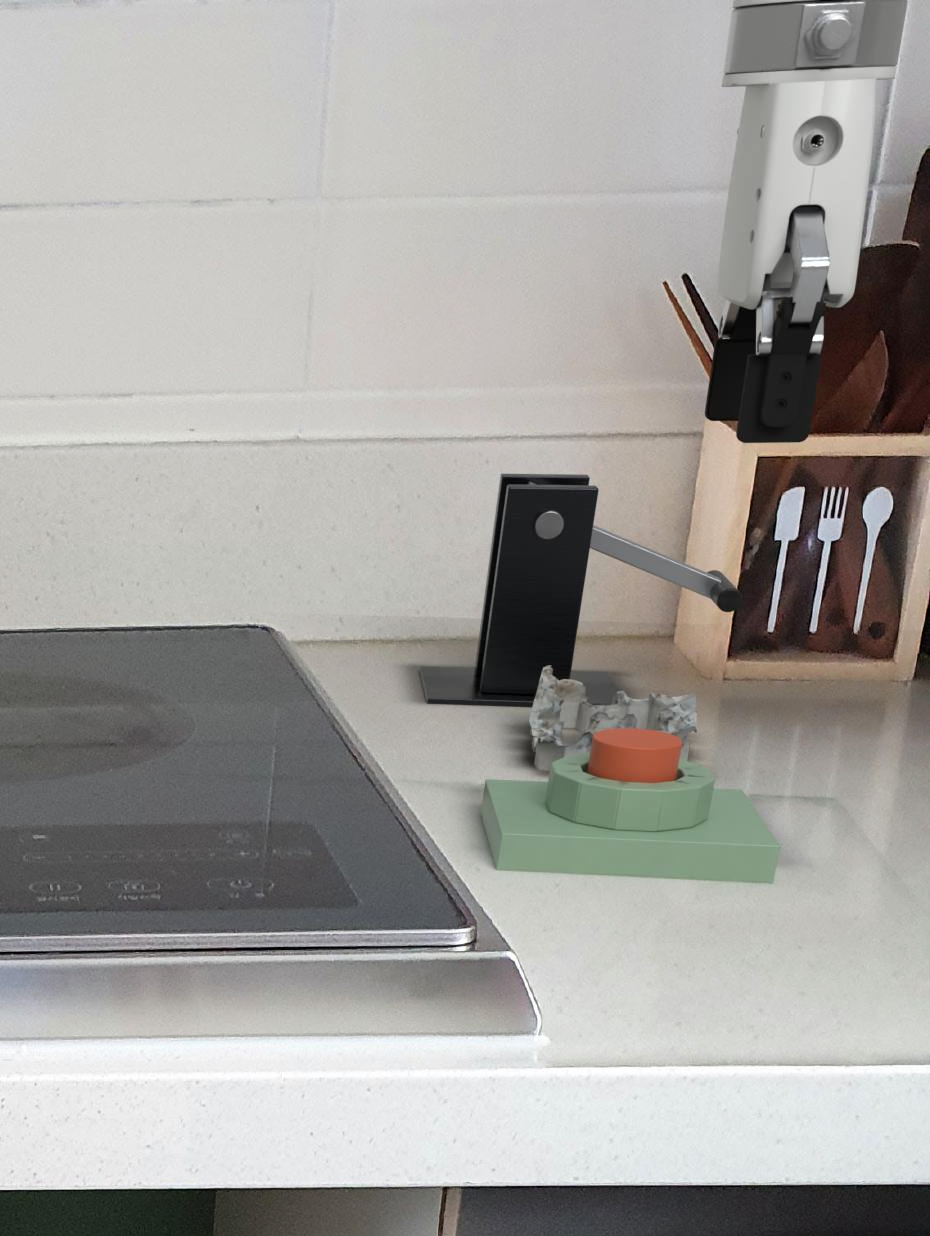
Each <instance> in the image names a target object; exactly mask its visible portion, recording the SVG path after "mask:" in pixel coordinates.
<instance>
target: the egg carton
mask: <svg viewBox="0 0 930 1236" xmlns="http://www.w3.org/2000/svg"><path fill="white" fill-rule="evenodd" d="M552 673H553V669H552V668H551V665H549V666H548V665H547V666H545V667H543V670H542V673H541V676H540V680H539V685H538V689H537V693H536V696H535V699H534V703H533V707H531V712H530V714H529V717H528V718H529V719H528V721H529V726H530V730H529V736H530V737H532V741H531V749H532V752H533V753H535V756H534V761H533V762H534V763H533V765H534V767H535V768H536V769H537V770H538V771H539V770H540V771H546V772H550V767H551V763H552V762H554V761H556V760H558V759H561V758H563V757H565V756H567V755H571V754H581V753H590V751H591V744H592V738H593V735H594V734H595V733H596V732H599V731H602V730H607V729H618V728H634V729H647V730H654V731H660V732H665V733H669V734H672V735H674V736H677V737H679V738H680V739H681V740H682V747H681V753H680V759H683V760H686V761H688V758H689V754H690V753H689V752H690V745H691V744H690V742H689V739H688V738H687V735H688V734H690V733H692V732H694V733H697V731H698V729H697V727H698V723H697V721H698V714H697V696H696V694H695V693H686V694H682V695H676V696H672V695H671V696H670V695H667V694H662V693H658V694H656V693H655V692H654V691H653V692H650V695H649V696H648V697H647V698H641V699H639V698H632V697H629V696H628V694H627V692H626V691H625V690H619V691H618V692H617V693H616V694H615V695H614V696H613V701H612V704H611V705H607V706H604V705H597V706H593V705H591V704H589V703H588V702H586V700H587V696H586V690H585V686H584V684H583V683H582V682H579V681H576V680H571V679H562V680H560V681H559V679H557V678H555V677H554V676H553V675H552ZM563 728H565V729H575V730H576V731H577V730H578V731H579V732H582V734H581V736H580V738H579V739H578V741H577V742H575V743H573V744H569V745H567V744H563V741H562V734H563Z"/></svg>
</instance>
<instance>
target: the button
mask: <svg viewBox="0 0 930 1236" xmlns="http://www.w3.org/2000/svg"><path fill="white" fill-rule="evenodd" d="M681 747H682V740H681V739H680V738H679V737H677V736H674V735H672V734H669V733H665V732H660V731H654V730H647V729H634V728H618V729H607V730H602V731H599V732H596V733H595V734H594V735H593V738H592V744H591V751H590V757H589V763H588V770H587V774H590V775H593V776H595V777H598V778H603V779H609V780H615V781H621V782H638V783H660V782H670V781H676V776H677V770H678V764H679V759H680V753H681Z"/></svg>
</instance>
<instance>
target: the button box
mask: <svg viewBox="0 0 930 1236" xmlns="http://www.w3.org/2000/svg"><path fill="white" fill-rule="evenodd" d="M589 757H590V753H581V754H571V755H567V756H565V757H563V758H561V759H558V760H556V761H554V762H552V763H551V767H550V771H549V773H548V774H549V775H548V781H539V780H536V781H535V780H517V779H516V780H514V779H491V778H490V779H489V778H487V779H485V780H484V787H483V795H482V802H481V807H480V808H481V809H480V816H481V820H482V824H483V827H484V831H485V834H486V838H487V841H488V845H489V849H490V852H491V856H492V859H493V863H494V867H495V870H496V871H504V872H505V871H508V872H524V873H525V872H527V873H546V874H547V873H548V874H549V873H550V874H567V875H568V874H569V875H589V876H610V877H611V876H612V877H629V878H632V877H633V878H653V879H673V880H696V881H715V882H733V883H734V882H735V883H753V884H755V883H756V884H774V881H775V875H776V870H777V864H778V859H779V854H780V849H781V845H780V844H779V842H778V841H777V839H776V838H775V837H774V835H773V834H772V832H771V830H770V829H769V827H768V826H767V824H766V823H765V822H764V820H763V818H762V817H761V815H760V814H759V813H758V811H757V810H756V808H755V806H754V805H753V803H752V802H751V801H750V799H749V798H748V797H747V795H746V793H745V792H744V790H743V789H741V788H737V789H736V788H714V787H715V784H716V783H715V782H716V778H715V776H714V775H713V773H712V772H711V770H710V769H709V768H708V767H706V766H703V765H701V764H697V763H695V762H692V761H689V760H687V761H686V760H683V759H679V764H678V770H677V776H676V781H670V782H660V783H638V782H621V781H615V780H609V779H603V778H598V777H595V776H593V775H590V774H587V770H588V763H589Z"/></svg>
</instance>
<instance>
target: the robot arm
mask: <svg viewBox="0 0 930 1236" xmlns="http://www.w3.org/2000/svg"><path fill="white" fill-rule="evenodd" d="M908 2H909V1H908V0H733V1H732V9H733V10H732V11H731V15H730V23H729V30H728V38H727V45H726V51H725V60H724V67H723V75H722V80H721V88H738V87H739V88H740V87H745V90H744V95H743V96H744V97H743V100H742V101H743V102H742V106H741V107H742V108H741V112H740V118H739V126H738V129H737V131H736V134H737V137H736V142H735V149H734V155H733V160H732V161H733V162H732V167H731V173H730V180H729V187H728V193H727V200H726V206H725V212H724V213H725V214H724V222H723V229H722V237H721V245H720V254H719V264H718V274H717V275H718V276H717V288H718V293H719V294H720V295H721V296H722V297H723V298H724V299H725V301H724V305H723V308H722V312H721V314H720V319H719V322H718V323H719V324H718V333H717V334H718V335H717V336H718V338H714V346H713V353H712V358H711V367H710V373H709V380H708V388H707V395H706V400H705V408H704V416H705V418H706V419H707V420H709V421H710V422H737V425H736V426H737V427H736V431H735V437H736V439H737V441H739V442H741V443H742V444H764V443H765V444H776V443H777V444H783V443H785V444H788V443H789V444H790V443H802V442H805V441H806V440H807V439H808V437H809V436H810V431H811V425H812V419H813V412H814V406H815V402H816V401H815V400H816V394H817V390H818V389H817V388H818V381H819V376H820V371H821V370H820V369H821V364H822V357H823V353H821V351H822V348H823V345H824V338H825V329H824V328H825V316H826V311H827V307H828V308H841V307H844V305H845V304H847V303H848V302H849V301H850V300H851V299H852V298H853V296H854V293H855V289H856V284H857V276H858V270H859V269H858V268H859V261H860V253H861V248H862V247H861V246H862V238H863V229H864V222H865V213H866V205H867V198H868V190H869V184H870V183H869V181H870V174H871V165H872V155H873V146H874V135H875V127H876V126H875V125H876V113H877V112H876V111H877V109H876V108H877V81H879V80H880V81H881V80H882V81H885V80H895V78H896V73H897V65H898V63H899V57H900V50H901V44H902V38H903V32H904V27H905V21H906V16H907V9H908Z"/></svg>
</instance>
